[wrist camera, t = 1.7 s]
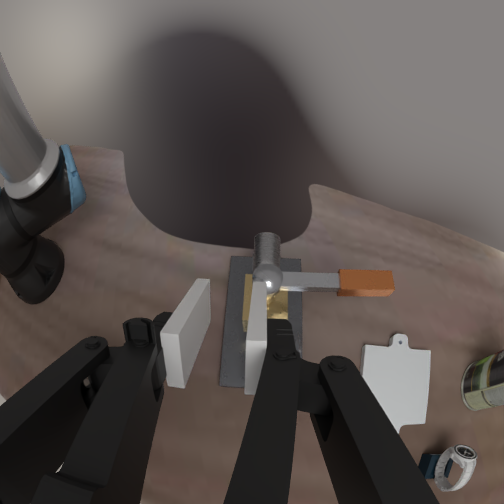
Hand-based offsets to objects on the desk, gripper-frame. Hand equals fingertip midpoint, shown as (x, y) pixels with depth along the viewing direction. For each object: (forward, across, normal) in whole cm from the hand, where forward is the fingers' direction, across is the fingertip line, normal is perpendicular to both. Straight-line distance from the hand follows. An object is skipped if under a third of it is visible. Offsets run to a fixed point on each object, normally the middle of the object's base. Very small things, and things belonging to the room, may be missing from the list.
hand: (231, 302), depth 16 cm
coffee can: (+15, +44, -25) cm, 53 cm away
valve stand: (+26, +2, -14) cm, 29 cm away
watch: (+6, +32, -34) cm, 47 cm away
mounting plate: (+18, +24, -23) cm, 38 cm away
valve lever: (+16, +9, -4) cm, 18 cm away
